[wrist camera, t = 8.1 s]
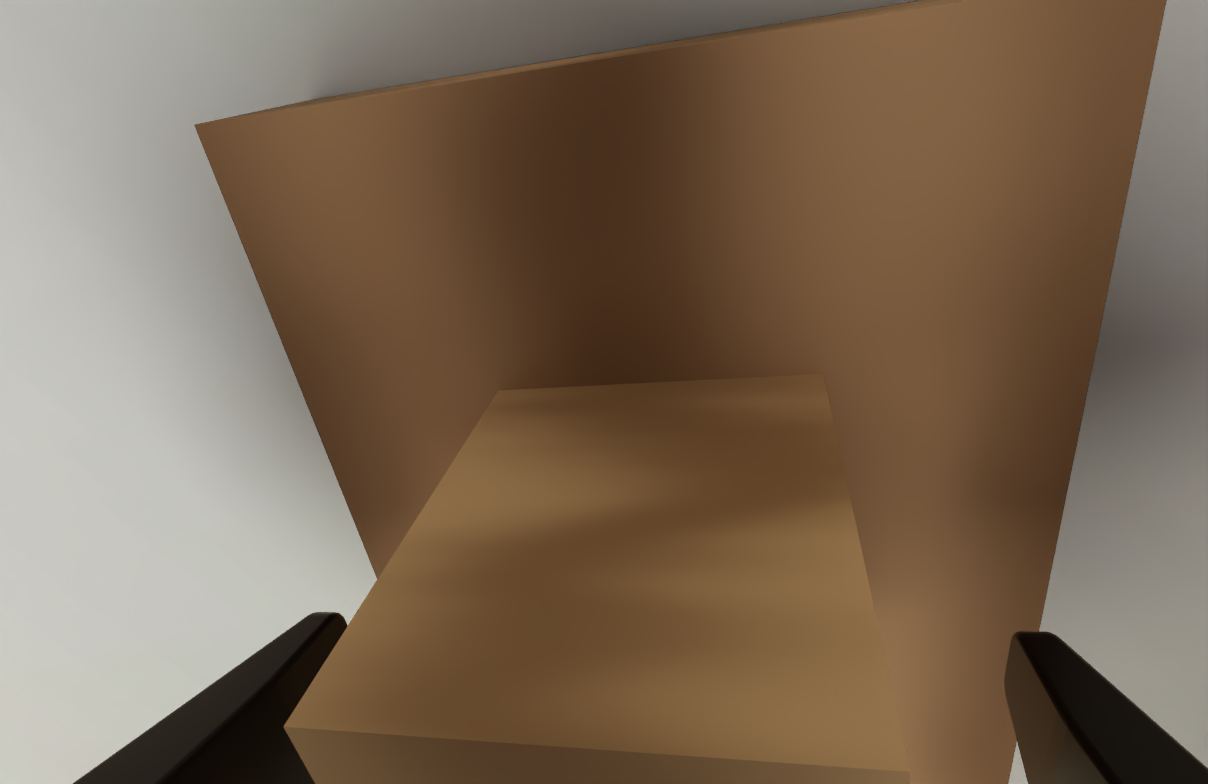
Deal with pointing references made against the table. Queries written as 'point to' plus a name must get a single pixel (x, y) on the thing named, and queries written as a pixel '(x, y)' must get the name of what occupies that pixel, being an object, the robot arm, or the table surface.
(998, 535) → the walnut board
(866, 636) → the oak block
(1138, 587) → the table surface
